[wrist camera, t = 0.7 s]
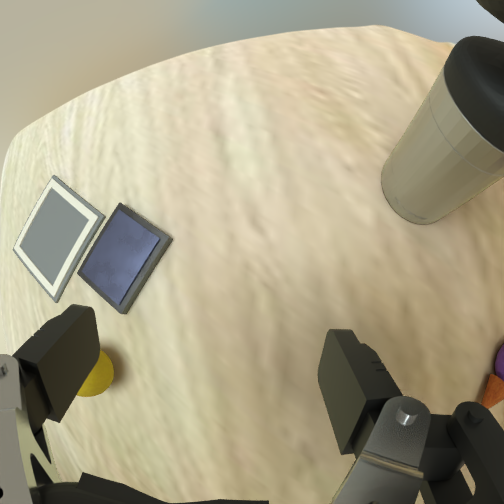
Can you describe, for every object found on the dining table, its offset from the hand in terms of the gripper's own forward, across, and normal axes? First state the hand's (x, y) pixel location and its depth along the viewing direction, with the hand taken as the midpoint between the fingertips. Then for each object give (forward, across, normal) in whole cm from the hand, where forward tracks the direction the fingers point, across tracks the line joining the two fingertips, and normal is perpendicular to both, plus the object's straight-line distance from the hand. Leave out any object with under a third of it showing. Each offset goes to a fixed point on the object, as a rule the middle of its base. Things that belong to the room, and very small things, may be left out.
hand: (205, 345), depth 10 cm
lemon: (+18, +14, +17) cm, 28 cm away
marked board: (+26, +24, +4) cm, 36 cm away
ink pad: (+23, +12, +5) cm, 27 cm away
